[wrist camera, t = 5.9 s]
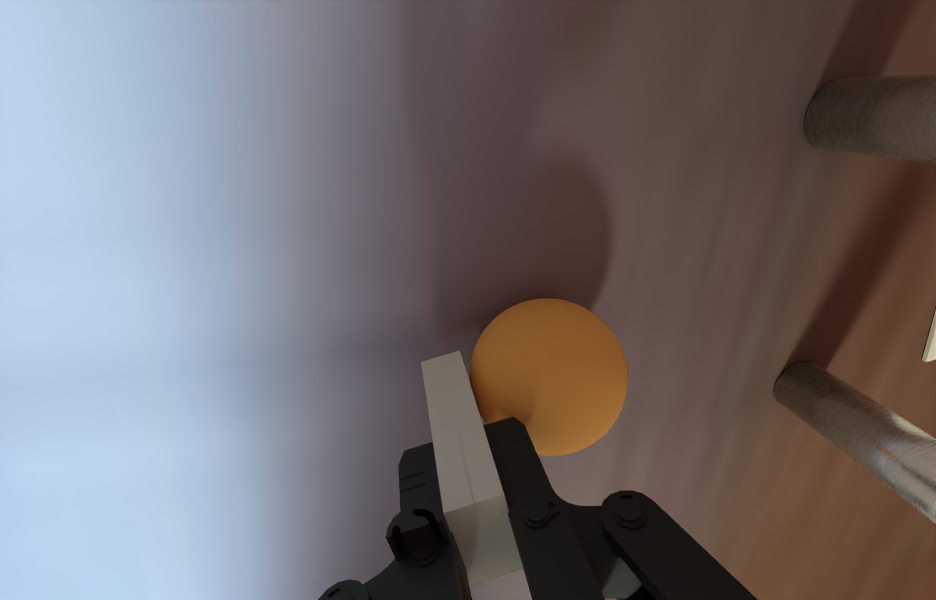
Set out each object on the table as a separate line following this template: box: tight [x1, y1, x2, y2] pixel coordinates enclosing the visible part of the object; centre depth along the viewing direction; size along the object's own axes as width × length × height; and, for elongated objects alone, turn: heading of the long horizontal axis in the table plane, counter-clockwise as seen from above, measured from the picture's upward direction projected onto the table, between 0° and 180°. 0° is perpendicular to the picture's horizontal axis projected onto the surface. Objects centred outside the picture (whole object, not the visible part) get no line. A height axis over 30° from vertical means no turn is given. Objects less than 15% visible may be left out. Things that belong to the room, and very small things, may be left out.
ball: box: [470, 298, 628, 456], centre depth 16 cm, size 6×6×6 cm
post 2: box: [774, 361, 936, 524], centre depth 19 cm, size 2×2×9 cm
